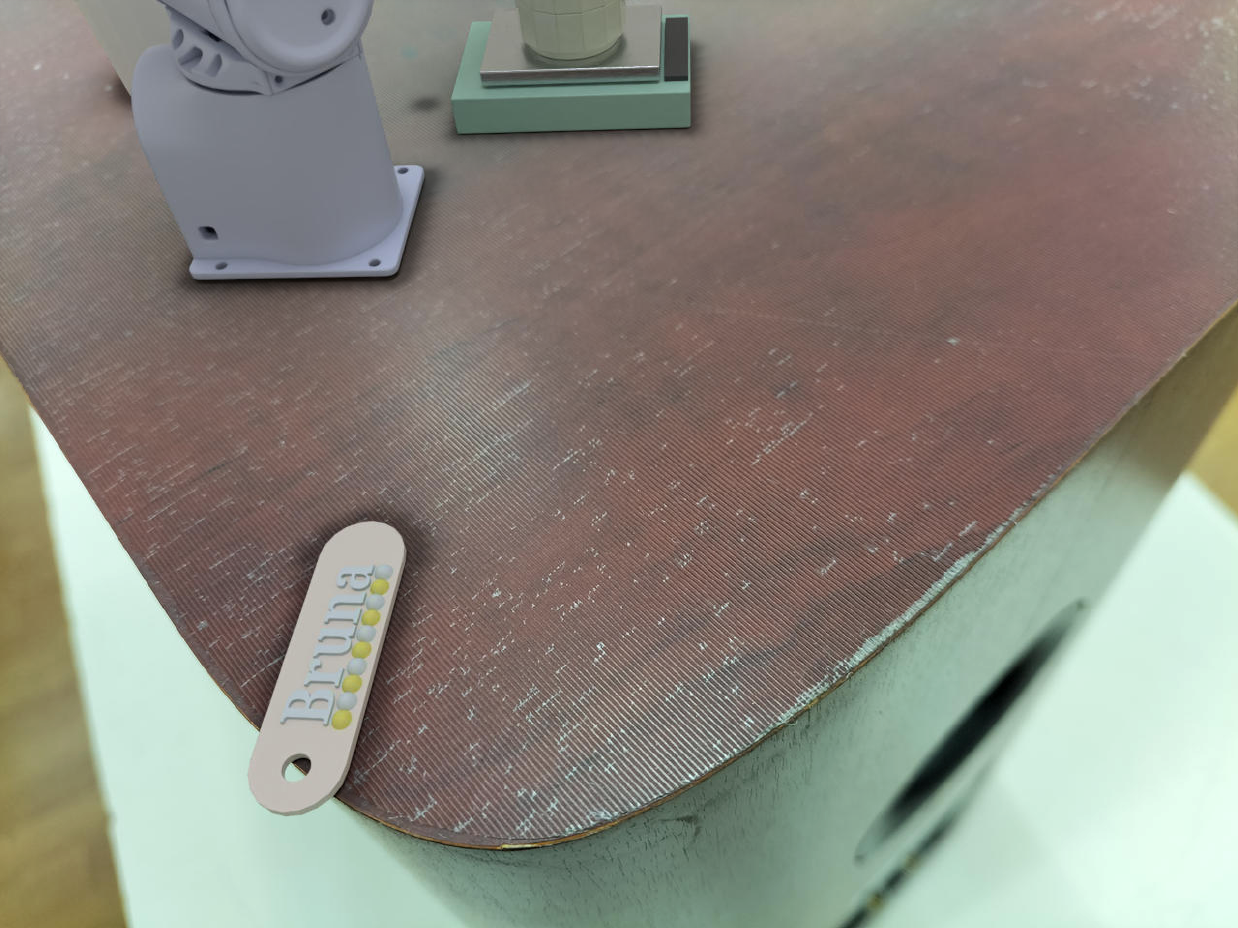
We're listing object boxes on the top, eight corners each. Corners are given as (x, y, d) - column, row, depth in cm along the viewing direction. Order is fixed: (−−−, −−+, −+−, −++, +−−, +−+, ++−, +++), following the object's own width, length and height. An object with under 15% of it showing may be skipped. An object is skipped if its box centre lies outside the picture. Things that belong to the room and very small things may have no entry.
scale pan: (481, 87, 51) (478, 72, 50) (496, 24, 55) (494, 10, 54) (660, 81, 50) (659, 66, 50) (661, 19, 54) (661, 4, 54)
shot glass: (206, 115, 55) (153, -14, 49) (93, 108, 56) (29, -20, 51) (259, 51, 59) (216, -75, 54) (153, 45, 60) (101, -78, 55)
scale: (457, 134, 52) (449, 93, 50) (477, 55, 57) (470, 15, 55) (690, 128, 51) (690, 86, 50) (689, 48, 56) (689, 7, 55)
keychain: (329, 811, 29) (229, 805, 29) (335, 818, 29) (237, 813, 30) (411, 516, 35) (329, 515, 36) (415, 527, 36) (334, 525, 36)
